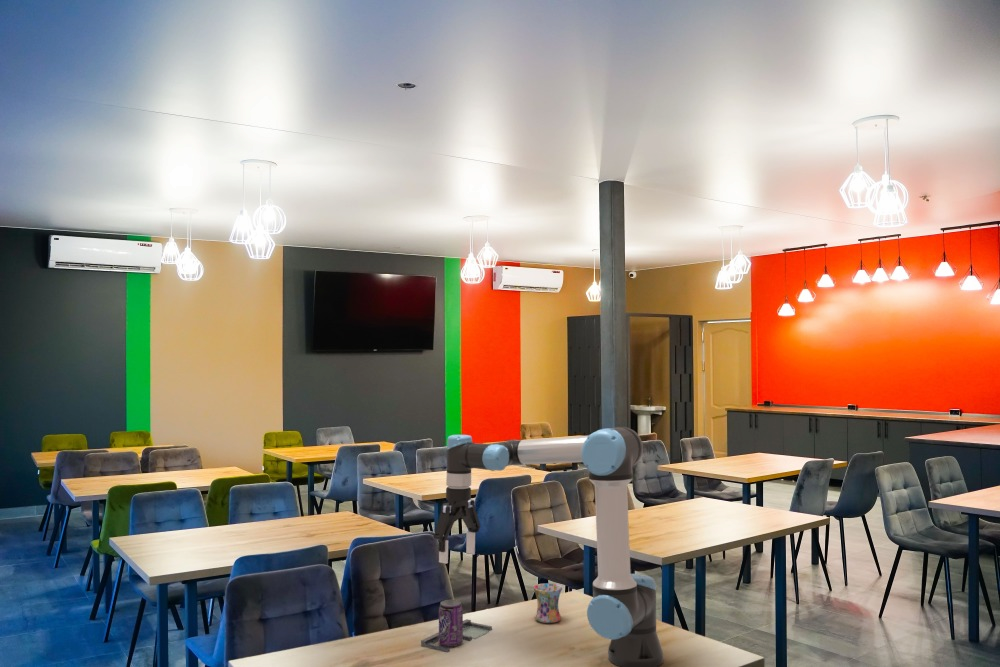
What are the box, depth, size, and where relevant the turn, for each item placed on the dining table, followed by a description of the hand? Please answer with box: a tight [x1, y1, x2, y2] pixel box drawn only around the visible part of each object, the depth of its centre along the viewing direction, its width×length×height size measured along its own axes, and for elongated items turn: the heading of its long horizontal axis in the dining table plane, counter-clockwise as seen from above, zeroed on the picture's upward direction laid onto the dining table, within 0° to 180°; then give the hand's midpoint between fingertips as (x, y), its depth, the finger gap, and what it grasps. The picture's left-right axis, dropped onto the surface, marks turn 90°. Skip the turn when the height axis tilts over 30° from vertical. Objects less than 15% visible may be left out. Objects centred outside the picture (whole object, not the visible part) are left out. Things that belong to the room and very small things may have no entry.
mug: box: [533, 582, 563, 624], centre depth 248 cm, size 12×9×11 cm
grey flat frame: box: [420, 619, 493, 653], centre depth 231 cm, size 10×23×2 cm, turn 147°
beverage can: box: [438, 599, 464, 648], centre depth 226 cm, size 7×7×12 cm
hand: (457, 558), depth 229 cm, fingers open, 13 cm apart
